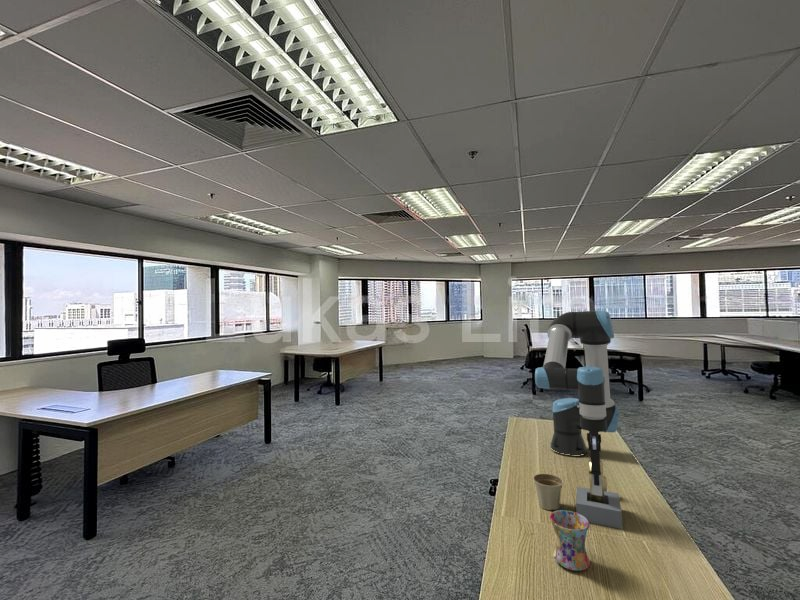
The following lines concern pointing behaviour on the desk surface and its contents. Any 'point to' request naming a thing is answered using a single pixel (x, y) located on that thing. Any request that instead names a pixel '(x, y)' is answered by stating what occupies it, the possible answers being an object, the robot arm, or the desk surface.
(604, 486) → the short pin
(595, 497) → the long pin
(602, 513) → the slate block
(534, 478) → the flower pot
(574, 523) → the mug
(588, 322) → the robot arm
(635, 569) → the desk surface
